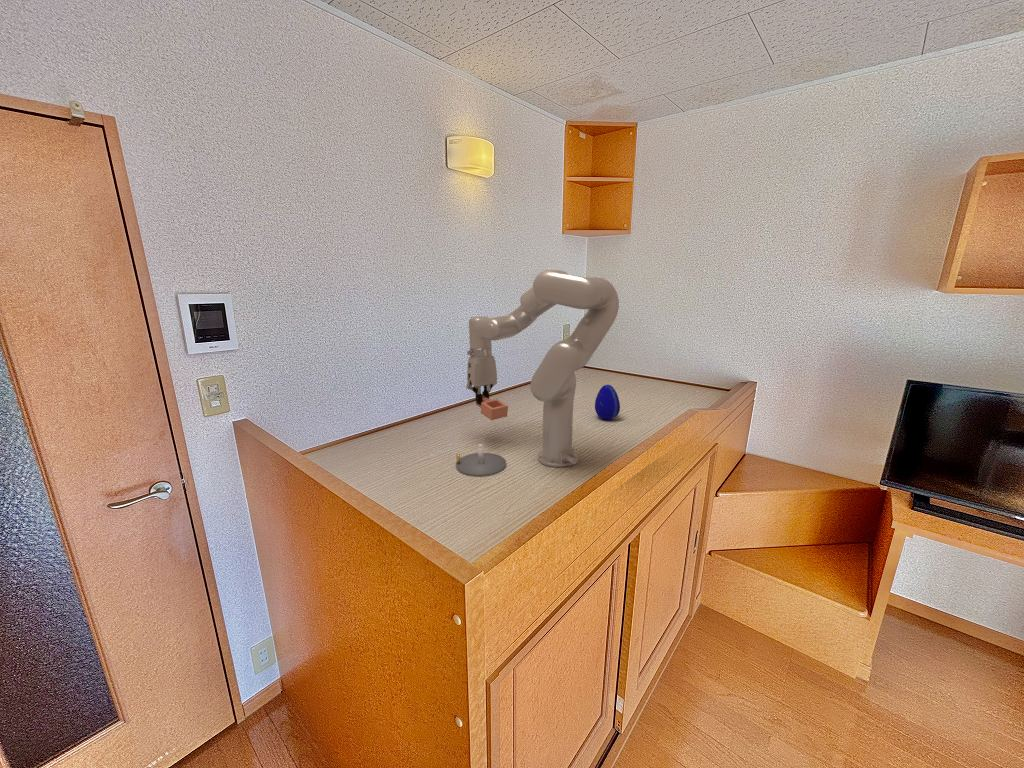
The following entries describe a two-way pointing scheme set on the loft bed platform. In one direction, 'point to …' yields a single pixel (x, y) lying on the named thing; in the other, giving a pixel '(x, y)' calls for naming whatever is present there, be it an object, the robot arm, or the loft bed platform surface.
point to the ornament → (607, 403)
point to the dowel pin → (458, 458)
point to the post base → (481, 468)
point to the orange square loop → (493, 408)
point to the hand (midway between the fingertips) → (482, 403)
